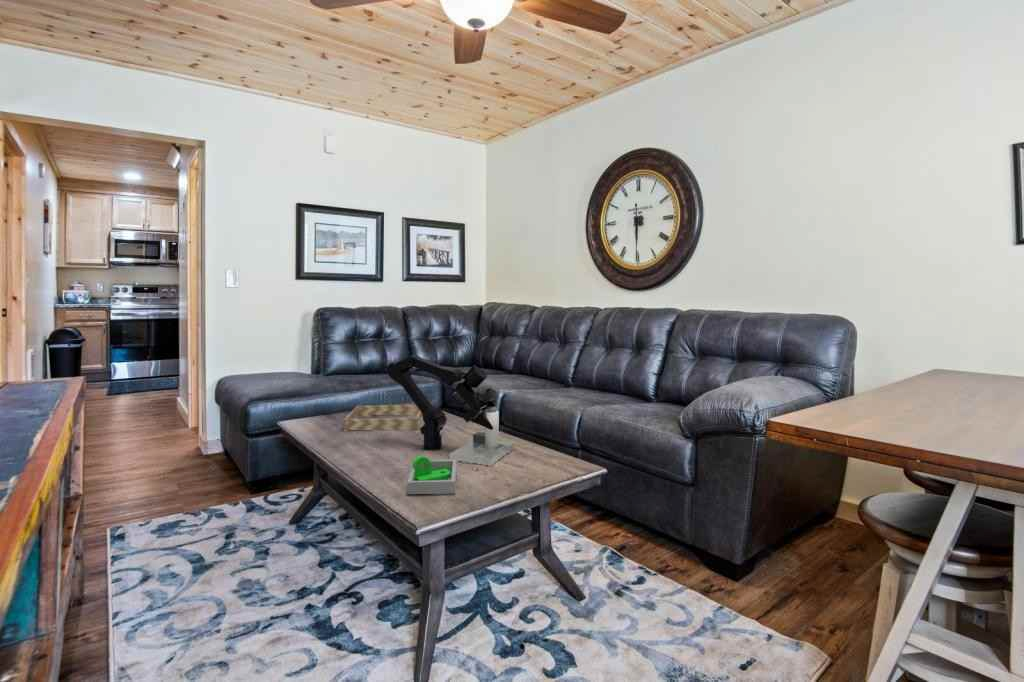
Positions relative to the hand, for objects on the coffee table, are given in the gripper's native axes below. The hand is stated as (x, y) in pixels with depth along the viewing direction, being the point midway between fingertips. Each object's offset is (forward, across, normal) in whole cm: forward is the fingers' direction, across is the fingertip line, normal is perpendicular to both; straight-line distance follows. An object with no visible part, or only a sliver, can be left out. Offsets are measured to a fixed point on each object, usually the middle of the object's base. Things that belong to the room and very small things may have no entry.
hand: (495, 427), depth 198 cm
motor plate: (+4, 0, +11) cm, 12 cm away
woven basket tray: (-40, +26, +56) cm, 73 cm away
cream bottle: (+4, 0, +6) cm, 7 cm away
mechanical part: (+2, -30, +15) cm, 33 cm away
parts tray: (+3, -32, +13) cm, 35 cm away
